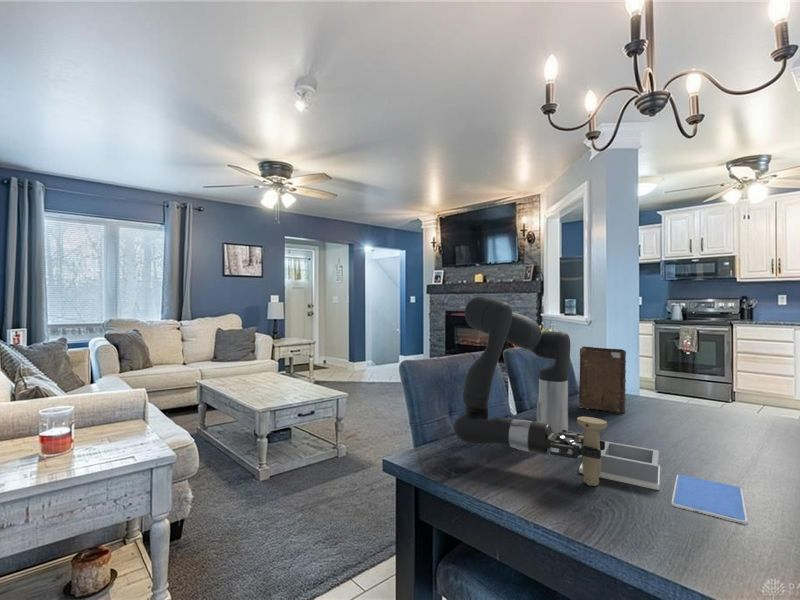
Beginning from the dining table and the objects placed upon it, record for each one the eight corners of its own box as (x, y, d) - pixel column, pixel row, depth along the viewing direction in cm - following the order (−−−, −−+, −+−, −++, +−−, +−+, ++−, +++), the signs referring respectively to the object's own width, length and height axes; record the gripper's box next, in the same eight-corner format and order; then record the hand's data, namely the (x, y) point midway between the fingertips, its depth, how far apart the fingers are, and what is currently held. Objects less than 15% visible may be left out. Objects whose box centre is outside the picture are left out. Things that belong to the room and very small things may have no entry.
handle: (600, 491, 93) (600, 425, 93) (573, 481, 98) (573, 418, 98) (609, 485, 96) (610, 421, 96) (582, 476, 101) (583, 415, 101)
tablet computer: (748, 528, 79) (748, 521, 79) (670, 508, 87) (670, 502, 87) (742, 492, 94) (742, 486, 94) (676, 478, 102) (676, 472, 102)
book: (626, 411, 163) (627, 349, 163) (624, 415, 157) (624, 350, 157) (581, 405, 173) (582, 346, 173) (577, 408, 167) (578, 347, 167)
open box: (579, 472, 103) (579, 451, 103) (588, 456, 114) (588, 437, 114) (659, 490, 94) (659, 467, 94) (660, 470, 105) (660, 450, 105)
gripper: (522, 428, 99) (598, 442, 90) (537, 415, 111) (606, 426, 102) (521, 459, 99) (598, 476, 89) (537, 443, 111) (606, 456, 101)
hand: (602, 449), depth 96 cm, fingers open, 6 cm apart
